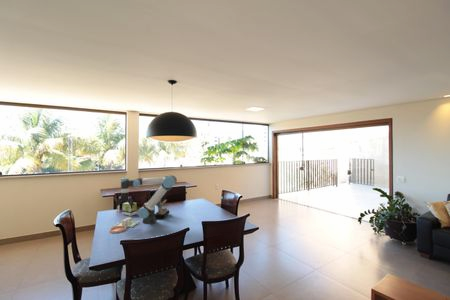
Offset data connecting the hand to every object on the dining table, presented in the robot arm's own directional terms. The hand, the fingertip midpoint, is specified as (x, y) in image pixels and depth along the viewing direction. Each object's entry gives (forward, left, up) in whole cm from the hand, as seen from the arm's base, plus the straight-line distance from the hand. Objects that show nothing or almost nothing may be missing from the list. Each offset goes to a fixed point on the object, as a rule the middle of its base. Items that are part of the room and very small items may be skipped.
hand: (124, 211), depth 229 cm
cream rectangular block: (0, -7, -15) cm, 17 cm away
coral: (-25, -37, -16) cm, 47 cm away
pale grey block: (0, 0, -15) cm, 15 cm away
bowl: (0, +12, -16) cm, 20 cm away
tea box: (+16, -43, -16) cm, 48 cm away
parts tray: (0, -4, -16) cm, 16 cm away
